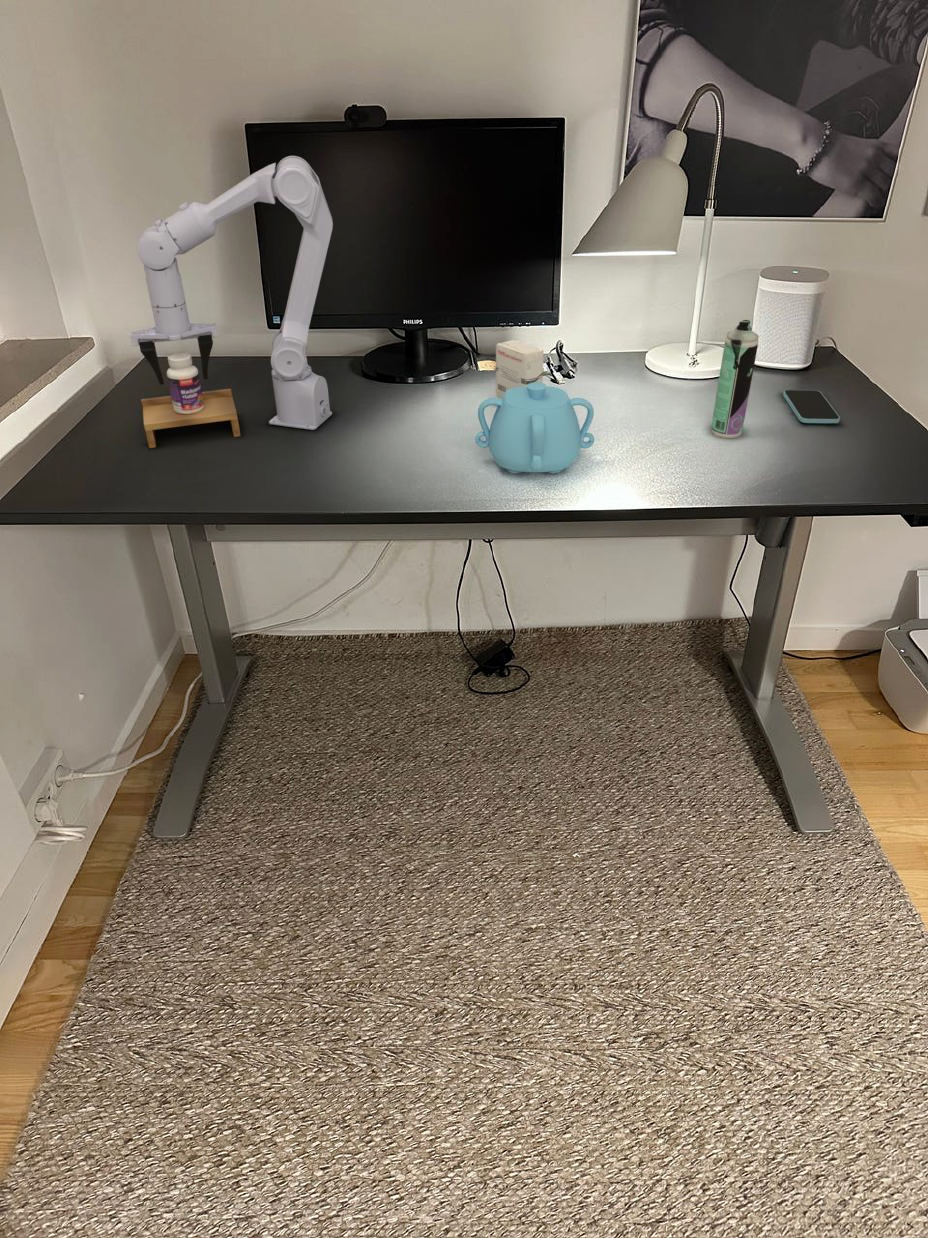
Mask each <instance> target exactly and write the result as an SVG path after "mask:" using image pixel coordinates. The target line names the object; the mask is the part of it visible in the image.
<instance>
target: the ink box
mask: <svg viewBox="0 0 928 1238" xmlns="http://www.w3.org/2000/svg"><path fill="white" fill-rule="evenodd" d="M543 379H544V349H541V348H538V347H536V346H533V345H531V344H527V343H525V342H521V341H520V340H516V339H511V340H508V341H503V342H498V343H497V344H495V398H499V399H502V397H503V395H504V394H505V392H506V391H507V390H509V389H511V388H515V387H522V386H527V385H528V384H530V383H533V382H539V383H543V384H544V382H543V381H544V380H543Z"/></svg>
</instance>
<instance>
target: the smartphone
mask: <svg viewBox="0 0 928 1238" xmlns="http://www.w3.org/2000/svg"><path fill="white" fill-rule="evenodd" d="M782 397H783V398H784V399H785V402H787V404H788V405H789V407H790V409H791V410H792V412H793V413H794V415H795V416H796V418H797V420H798V421H799V422H800V423H804V424H839V423H840V420H841V416H840V415H839V414H838V413H837V411H836V409H834V407H833V406H832V405H831V403H830V402H829V401H828V399H827V398H826V396H824V394H823V393H822V391H820V390H816V389H812V390H811V389H785V390H783V394H782Z"/></svg>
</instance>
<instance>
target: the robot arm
mask: <svg viewBox="0 0 928 1238" xmlns="http://www.w3.org/2000/svg"><path fill="white" fill-rule="evenodd" d="M276 164H277V165H276ZM276 199H278V201H279V202H280V203H282V204H283V205H284V206H285V207H286V208H287V209H289V210H290V212H292V213H293V214H294V215H295V217H296V218H297V220H298V222H299V223H300V225H301V226H302V228H303V231H302V233H301V239H300V242H299V243H300V244H299V248H298V253H297V257H296V261H295V266H294V271H293V275H292V280H291V283H290V289H289V292H288V298H287V303H286V307H285V311H284V315H283V317H282V318H283V319H282V320H281V326H280V329H279V330H278V332H277V333H276V334H275V335H274V336H273V338H272V340H271V349H272V352H271V357H270V366H271V368H272V369H271V379H272V387H273V394H274V401H275V407H276V415H275V416H273V418H271V419H270V420H269V421H268V424H269V425H273V426H280V427H281V426H282V427H288V428H294V429H302V430H303V429H304V430H310V431H315V430H316V429H318V427H320V426H321V425H322V424H323V423H324V422H325V421H327V420H328V418H330V417H331V416H332V415H333V412H332V411H331V407H330V405H331V404H330V397H329V387H328V382H327V379H326V378H325V377H324V376H322V375H318V374H316V373H314V372H313V371H312V367H311V365H309V364H308V358H307V350H308V349H307V348H308V345H307V342H308V336H309V329H310V325H311V322H312V321H311V320H312V317H313V312H314V308H315V304H316V300H317V295H318V293H319V292H318V291H319V287H320V282H321V279H322V274H323V271H324V267H325V263H326V257H327V253H328V249H329V245H330V242H331V241H330V240H331V236H332V232H333V228H334V222H333V215H332V213H331V210H330V208H329V205H328V202H327V200H326V196H325V193H324V190H323V188H322V184H321V181H320V178H319V176H318V175H317V173H316V172H315V171H314V169H313V168H312V167H311V165H310V164H309V162H308V161H306V160H305V159H304V158H303V157H300V156H297V155H289V156H285V157H283V158H282V159H281V160H280V161H279V162H278V163H277V162H274V163H271V164H268V165H266V166H264V167H263V168H261V169H259V170H257V171H255V172H253V173H251V174H250V175H249V176H247V177H246V178H245V179H243V180H241V181H240V182H238V183H237V184H236V185H234V186H232V187H231V188H229V189H228V190H226V191H225V192H223V193H222V194H220V195H219V196H218V197H216V198H215V199H213V200H212V201H210V202H208V203H207V204H204V203H200V202H197V201H193V202H192V203H190V204H189V203H188V202H187V201H185V202H183V203H182V204H180V205H179V206H178V207H179V209H180V210H179V211H177V212H175V213H173V214H172V215H170V216H169V217H167V218H165V219H164V220H163V219H162V218H159V219H158V220H156V221H155V223H154V224H155V225H153V226H149V227H148V228H146V229H145V230H144V231H143V233H142V234H141V236H140V238H139V240H138V242H137V247H136V252H137V255H138V256H137V257H138V258H139V260H140V261H141V263H142V264H143V269H144V270H143V271H144V273H145V282H146V286H147V292H148V296H149V300H150V306H151V310H152V315H153V320H154V325H155V326H154V327H150V328H146V329H141V330H135V331H130V332H129V335H130V340H131V344H132V345H131V346H132V347H138V346H139V350H140V353H141V355H142V357H144V359H146V361H147V362H148V364H149V365H150V367H151V368H152V370H153V372H154V374H155V376H156V378H157V380H158V383H159V385H161V386H163V385H164V384H165V383H164V382H165V381H164V376H163V372H162V369H161V366H160V363H159V359H158V353H157V349H156V343H164V342H174V341H183V340H193V339H197V344H198V350H199V355H200V364H201V372H202V377H203V380H209V378H208V377H209V376H208V371H209V369H208V368H209V361H210V356H211V352H212V349H213V345H214V340H213V338H219V333H218V328H217V327H218V326H217V323H216V322H211V323H209V322H208V323H191V322H190V316H189V312H188V308H187V301H186V296H185V292H184V286H183V280H182V276H181V273H180V271H179V270H180V269H179V265H178V259H177V257H176V256H179V255H185V254H187V253H188V252H190V251H191V250H193V249H195V248H196V247H198V246H200V245H201V244H203V243H205V242H206V241H208V240H210V239H211V238H213V237H214V236H216V234H217V225H218V224H219V223H221V222H223V221H225V220H227V219H229V218H231V217H232V216H234V215H235V214H238V213H239V212H241V211H243V210H245V209H246V208H248V207H250V206H252V205H253V204H255V203H258V202H259V203H266V204H272V205H276V202H277V201H276Z"/></svg>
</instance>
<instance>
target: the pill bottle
mask: <svg viewBox="0 0 928 1238" xmlns="http://www.w3.org/2000/svg"><path fill="white" fill-rule="evenodd" d="M167 362H168V366H169V368H168V369H167V370H166V378H167V382H168V388H169V393H170V396H171V399H172V404H173V408H174V411H175V412H177V413H180V414H192V413H196V412H199V411H201V410H202V409H203V408H204V401H203V396H202V392H203V391H202V386H201V381H200V374H199V370H198V368H197V367H196V366H195V365H194V364H193V357H192V354H190V353H189V352H183V351H182V352H174V353H170V354H169V355H168V356H167Z"/></svg>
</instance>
